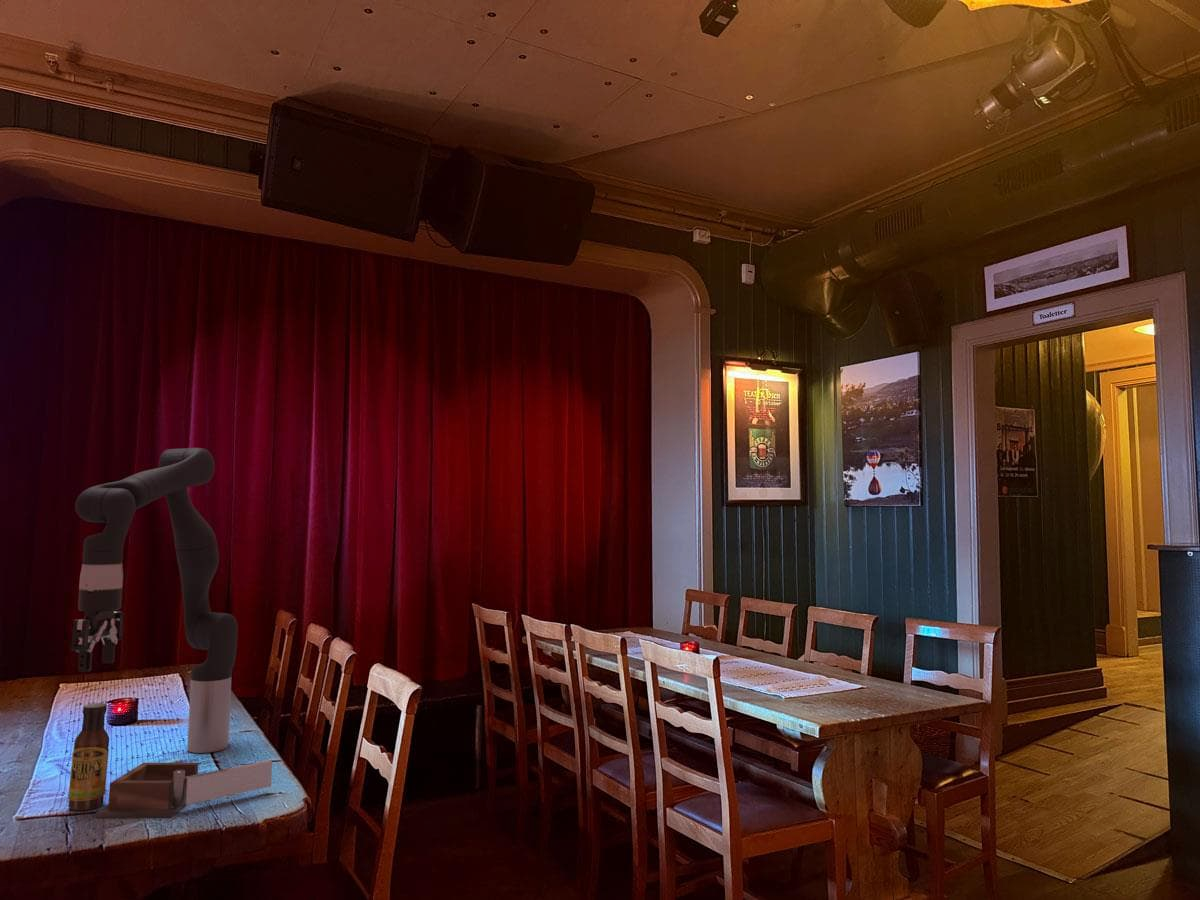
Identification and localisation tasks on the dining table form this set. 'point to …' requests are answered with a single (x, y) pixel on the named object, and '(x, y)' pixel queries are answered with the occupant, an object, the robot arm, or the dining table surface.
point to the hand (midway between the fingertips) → (96, 667)
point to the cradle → (145, 791)
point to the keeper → (220, 783)
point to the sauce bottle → (89, 760)
